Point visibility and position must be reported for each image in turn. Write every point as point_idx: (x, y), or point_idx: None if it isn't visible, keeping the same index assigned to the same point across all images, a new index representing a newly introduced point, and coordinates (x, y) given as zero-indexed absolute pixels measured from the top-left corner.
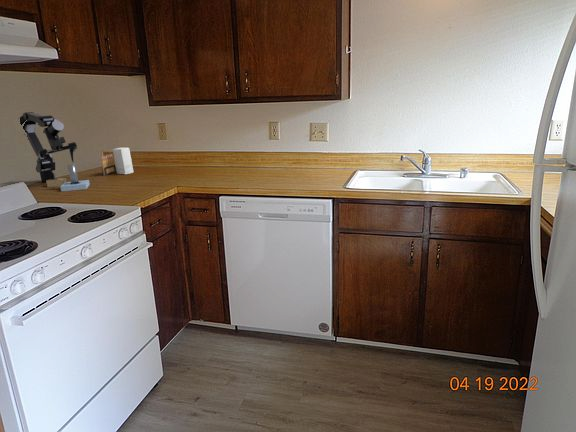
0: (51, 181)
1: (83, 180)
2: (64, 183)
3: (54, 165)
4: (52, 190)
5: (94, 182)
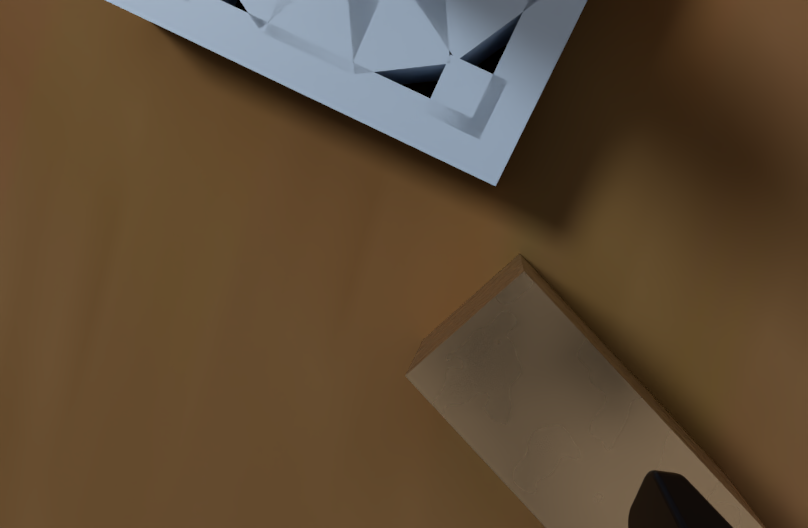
0: (687, 442)
1: (184, 33)
2: (544, 46)
3: (690, 505)
4: (777, 50)
5: (48, 131)
